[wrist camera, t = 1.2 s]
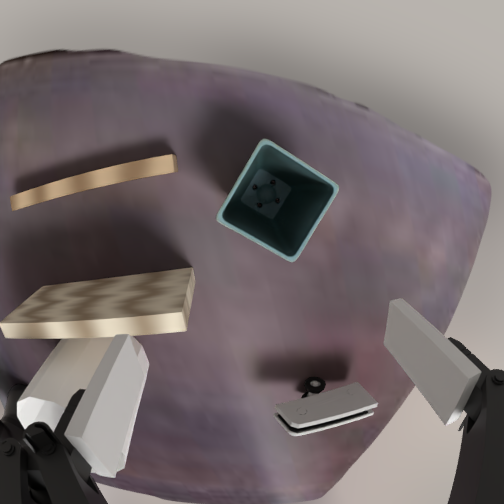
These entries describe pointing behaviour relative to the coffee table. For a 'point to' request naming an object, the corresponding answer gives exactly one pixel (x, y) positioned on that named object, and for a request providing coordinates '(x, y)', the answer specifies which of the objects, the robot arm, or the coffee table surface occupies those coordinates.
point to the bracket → (324, 408)
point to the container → (71, 382)
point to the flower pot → (286, 210)
